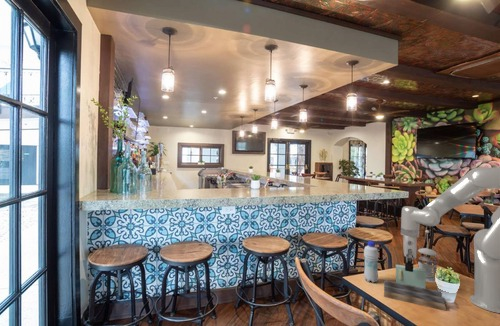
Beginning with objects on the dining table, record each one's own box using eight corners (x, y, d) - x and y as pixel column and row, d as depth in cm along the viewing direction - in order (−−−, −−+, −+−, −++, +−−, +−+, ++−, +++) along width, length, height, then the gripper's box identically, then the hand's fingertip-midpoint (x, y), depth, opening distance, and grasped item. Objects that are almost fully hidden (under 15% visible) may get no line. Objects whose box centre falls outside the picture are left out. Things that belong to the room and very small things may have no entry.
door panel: (424, 288, 120) (424, 269, 120) (425, 291, 117) (425, 272, 117) (395, 282, 126) (395, 264, 126) (396, 285, 123) (396, 266, 123)
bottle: (375, 278, 130) (375, 239, 130) (380, 284, 124) (380, 243, 124) (361, 277, 131) (361, 239, 131) (366, 283, 124) (366, 243, 124)
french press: (411, 275, 134) (411, 228, 134) (427, 272, 137) (427, 226, 137) (429, 283, 124) (429, 233, 124) (446, 280, 128) (446, 231, 128)
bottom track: (440, 296, 112) (440, 289, 112) (445, 310, 102) (445, 302, 102) (384, 285, 123) (384, 278, 123) (384, 296, 112) (384, 288, 112)
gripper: (421, 238, 113) (419, 276, 113) (417, 229, 128) (415, 262, 128) (401, 235, 116) (400, 272, 116) (400, 227, 131) (398, 259, 132)
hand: (408, 267), depth 122 cm, fingers open, 9 cm apart
